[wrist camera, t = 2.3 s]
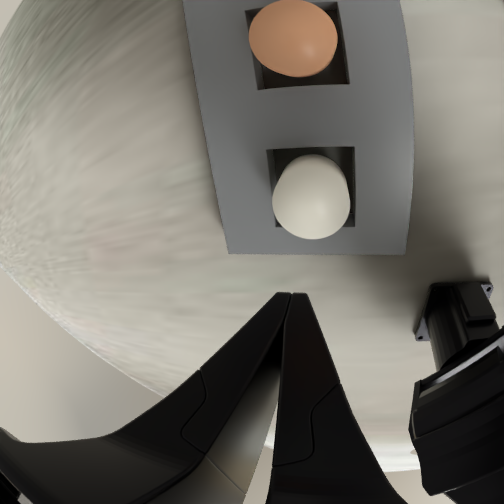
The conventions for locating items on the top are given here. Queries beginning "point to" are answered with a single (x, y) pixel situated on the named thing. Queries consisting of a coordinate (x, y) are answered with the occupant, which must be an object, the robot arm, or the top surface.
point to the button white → (311, 197)
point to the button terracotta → (293, 38)
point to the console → (307, 125)
